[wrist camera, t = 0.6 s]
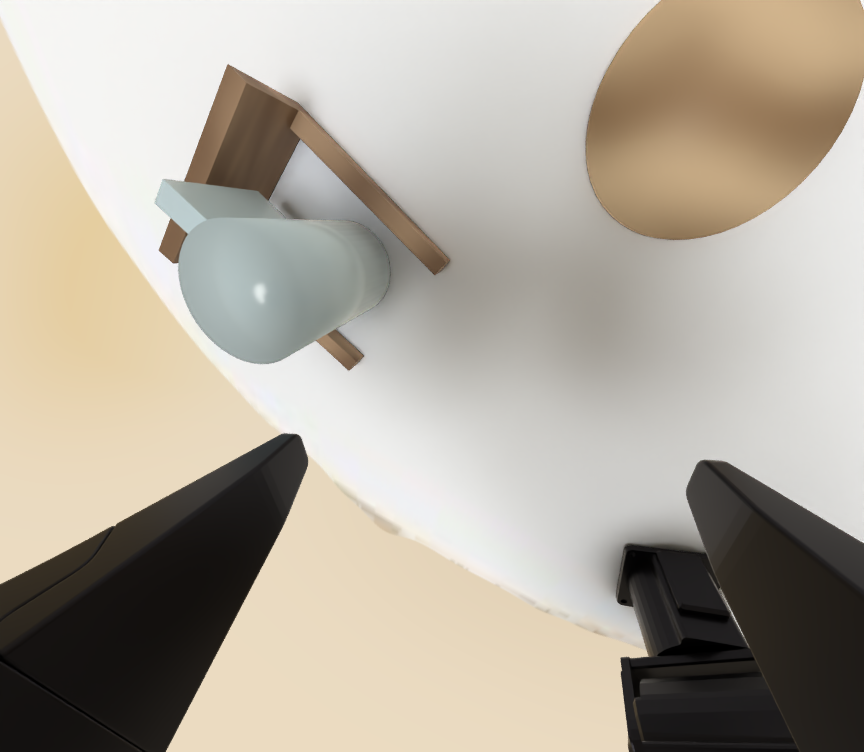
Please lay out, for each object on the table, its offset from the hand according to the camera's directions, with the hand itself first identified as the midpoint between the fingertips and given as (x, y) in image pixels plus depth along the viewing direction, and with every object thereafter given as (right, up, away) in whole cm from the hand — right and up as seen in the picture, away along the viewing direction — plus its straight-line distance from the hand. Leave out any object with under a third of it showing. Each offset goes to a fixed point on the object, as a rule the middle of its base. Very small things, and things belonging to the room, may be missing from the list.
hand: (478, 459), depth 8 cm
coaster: (+11, +14, +7) cm, 19 cm away
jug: (-8, +10, +14) cm, 19 cm away
